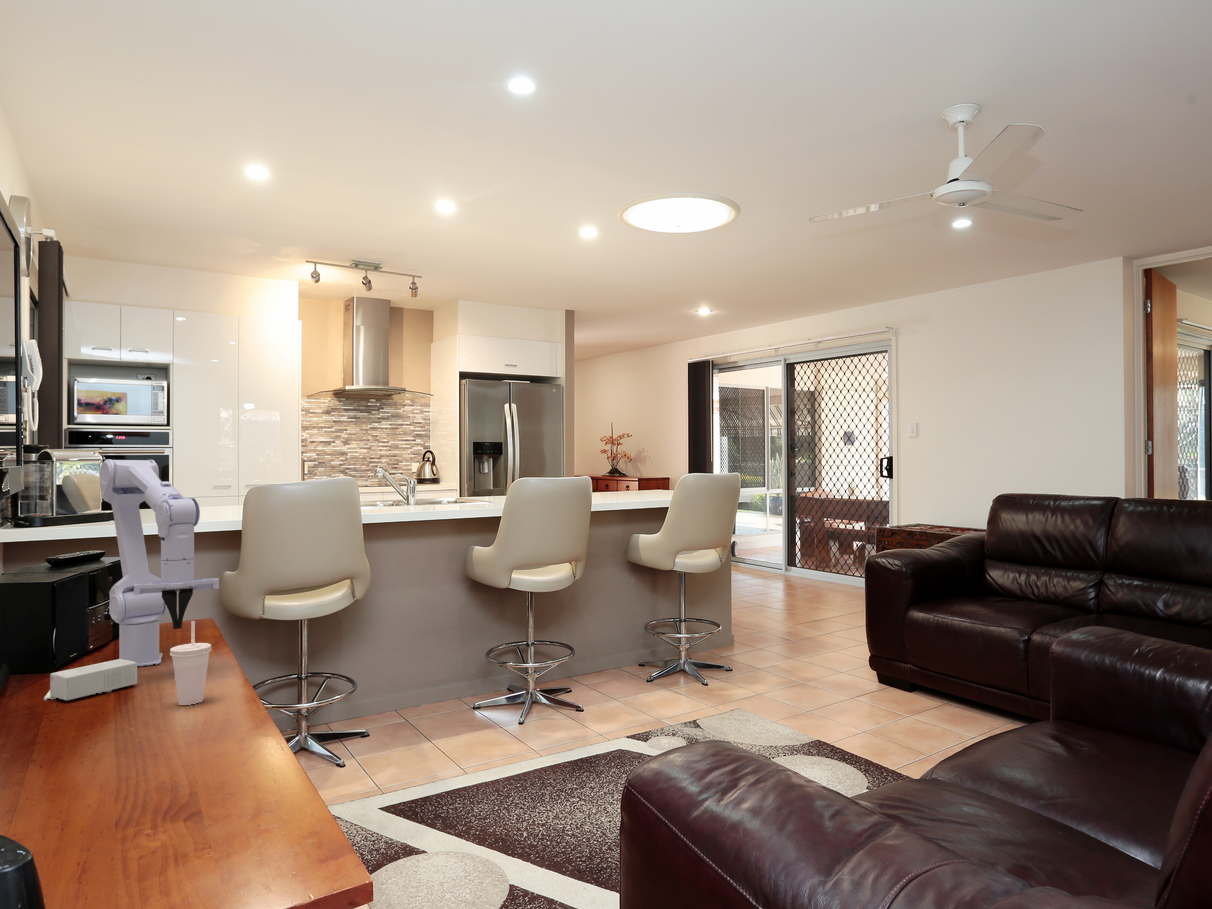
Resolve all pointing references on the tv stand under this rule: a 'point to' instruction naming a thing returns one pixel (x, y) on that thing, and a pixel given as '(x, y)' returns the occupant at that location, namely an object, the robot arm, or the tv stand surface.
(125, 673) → the skincare box
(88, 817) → the tv stand surface
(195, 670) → the smoothie
